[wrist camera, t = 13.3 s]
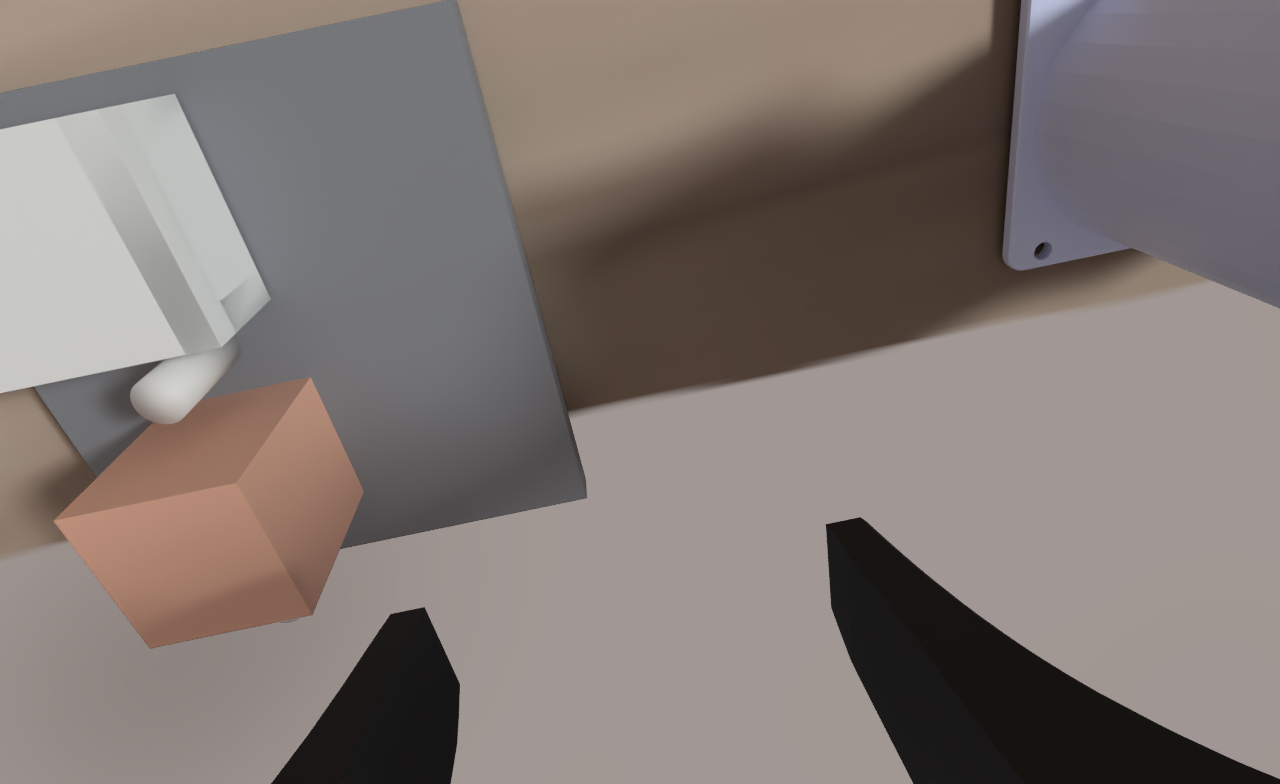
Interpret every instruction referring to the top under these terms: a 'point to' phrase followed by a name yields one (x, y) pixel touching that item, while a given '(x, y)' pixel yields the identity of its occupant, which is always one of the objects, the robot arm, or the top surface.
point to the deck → (355, 268)
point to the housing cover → (114, 246)
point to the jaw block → (220, 515)
